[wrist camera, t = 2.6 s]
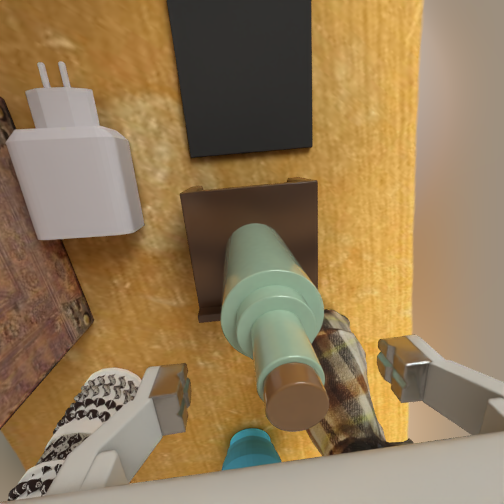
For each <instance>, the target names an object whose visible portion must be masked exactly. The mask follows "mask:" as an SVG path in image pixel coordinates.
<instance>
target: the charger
mask: <svg viewBox="0 0 504 504" xmlns="http://www.w3.org/2000/svg"><path fill="white" fill-rule="evenodd" d="M37 65H38V68H39V72H40V76H41V79H42V83H43V87H44V88H35V89H31V90H27V91H26V92H25V93H26V97H27V100H28V104H29V107H30V110H31V114H32V117H33V121H34V124H35V127H36V129H17V130H14V131H13V133H12V134H11V135H10V137H9V138H8V140H7V141H6V145H7V148H8V151H9V154H10V157H11V160H12V163H13V166H14V169H15V172H16V175H17V178H18V181H19V184H20V187H21V190H22V193H23V196H24V199H25V202H26V205H27V208H28V211H29V214H30V217H31V220H32V223H33V226H34V229H35V232H36V235H37V238H38V240H55V239H69V238H84V237H98V236H112V235H123V234H129V233H134V232H136V231H137V230H139V229H140V228H141V227H143V226H144V220H143V214H142V209H141V204H140V199H139V194H138V188H137V183H136V178H135V173H134V167H133V162H132V157H131V152H130V147H129V141H128V140H127V139H126V138H125V137H123V136H122V135H121V134H120V133H119V132H117V131H116V130H113V129H109V128H106V127H103V126H100V124H99V119H98V115H97V110H96V106H95V101H94V96H93V92H92V90H91V89H84V88H71V86H70V82H69V78H68V73H67V69H66V65H65V63H64V62H61V61H60V62H59V63H58V65H59V69H60V73H61V77H62V81H63V85H64V87H54V88H51V87H50V83H49V79H48V76H47V72H46V68H45V64H44V63H42V62H38V63H37Z"/></svg>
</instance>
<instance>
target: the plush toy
mask: <svg viewBox="0 0 504 504" xmlns="http://www.w3.org/2000/svg"><path fill="white" fill-rule="evenodd" d="M312 347H313V349H314V351H315V353H316V355H317V358H318V360H319V362H320V364H321V367H322V369H323V371H324V375H325V384H324V387H325V390H326V392H327V394H328V397H329V408H328V411H327V414H326V415H325V417H324V418H323V419H322V420H321V421H320V422H319V423H318V424H316V425H315V426H313V427H311V428H309V429H306V431H307V433H308V435H309V437H310V439H311V440H312V442H313V444H314V445H315V446H316V448H317V449H318V451H319V452H320V453H321V455H322V456H329V455H336V454H343V453H350V452H357V451H364V450H371V449H379V448H386V447H393V446H400V445H407V444H414V443H413V441H412V440H410V439H408V440H406V441H404V442H392V443H389V442H386V439H385V436H384V432H383V428H382V427H381V425H380V424H379V422H378V421H377V418H376V415H375V411H374V408H373V404H372V401H371V397H370V391H369V385H368V379H367V363H366V359H365V358H366V354H365V352H364V350H363V348H362V346H361V345H360V343H359V341H358V340H357V338H356V337H355V335H354V334H353V333H351V330H350V322H349V320H348V318H346V317H345V316H343V315H340V314H339V313H338V312H336V311H334V310H324V319H323V323H322V326H321V329H320V331H319V333H318V334H317V336H316V337H315V339H314V341H313V342H312Z"/></svg>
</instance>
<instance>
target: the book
mask: <svg viewBox="0 0 504 504" xmlns="http://www.w3.org/2000/svg"><path fill="white" fill-rule="evenodd" d="M14 130H16V128H15V126H14V123H13V121H12V118H11V116H10V113H9V111H8V108H7V106H6V104H5V101H4V99H3V98H1V97H0V429H1V428H2V427H3V426H4V425H5V424H6V422H7V421H8V420H9V419H10V418H11V417H12V416H13V414H14V413H15V412H16V411H17V410H18V409H19V407H20V406H21V405H22V404H23V403H24V402H25V400H26V399H27V398H28V397H29V396H30V395H31V394H32V392H33V391H34V390H35V389H36V388H37V387H38V385H39V384H40V383H41V382H42V381H43V380H44V379H45V377H46V376H47V375H48V374H49V373H50V372H51V370H52V369H53V368H54V367H55V366H56V365H57V363H58V362H59V361H60V360H61V359H62V358H63V357H64V355H65V354H66V353H67V352H68V351H69V350H70V348H71V347H72V346H73V345H74V344H75V343H76V342H77V340H78V339H79V338H80V337H81V336H82V335H83V333H84V332H85V331H86V330H87V329H88V328H89V327H90V325H91V324H92V323H93V321H94V319H93V316H92V314H91V311H90V309H89V306H88V304H87V301H86V299H85V297H84V294H83V292H82V289H81V287H80V284H79V282H78V280H77V277H76V275H75V272H74V270H73V267H72V265H71V262H70V260H69V258H68V255H67V253H66V250H65V248H64V245H63V243H62V240H61V239H55V240H38V238H37V235H36V232H35V229H34V226H33V223H32V220H31V217H30V214H29V211H28V208H27V205H26V202H25V199H24V196H23V193H22V190H21V187H20V184H19V181H18V178H17V175H16V172H15V169H14V166H13V163H12V160H11V157H10V154H9V151H8V148H7V145H6V141H7V140H8V138H9V137H10V135H11V134H12V133H13V131H14Z"/></svg>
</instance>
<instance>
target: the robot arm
mask: <svg viewBox="0 0 504 504" xmlns="http://www.w3.org/2000/svg"><path fill="white" fill-rule="evenodd" d="M378 348H379V349H380V351H381V352H380V353H379V354H378V356H377V365H378V369H379V372H380V374H381V375H382V377H383V378H384V380H386V381H387V382H389V383H391V389H392V391H393V392H394V394H395V395H396V396H397V398H398V399H399V400H400V402H401V403H405V402H415V401H423V402H424V403H425V404H427V405H429V406H430V407H431V408H433V409H434V410H436V411H437V412H439V413H440V414H442V415H443V416H445V417H446V418H448V419H449V420H451V421H452V422H454V423H455V424H457V425H458V426H459V427H461V428H462V429H464V430H465V431H467V432H468V433H470V434H471V435H470V436H463V437H456V438H449V439H443V440H435V441H428V442H421V443H414V444H407V445H400V446H393V447H386V448H379V449H371V450H364V451H357V452H350V453H343V454H336V455H329V456H322V457H315V458H308V459H301V460H294V461H287V462H280V463H273V464H266V465H259V466H252V467H245V468H238V469H230V470H223V471H216V472H209V473H202V474H195V475H188V476H181V477H174V478H167V479H160V480H153V481H146V482H139V483H132V484H129V482H130V481H131V480H132V478H133V477H134V475H135V474H136V473H137V471H138V470H139V469H140V467H141V466H142V465H143V463H144V462H145V460H146V459H147V458H148V456H149V455H150V454H151V452H152V451H153V449H154V448H155V447H156V445H157V444H158V443H159V441H160V440H161V438H162V436H163V435H170V434H176V433H182V432H185V431H186V425H187V420H188V412H187V408H188V407H189V406H190V403H191V382H190V379H189V378H187V374H188V368H187V364H186V363H181V364H171V365H161V366H153V367H148V368H147V369H146V371H145V374H144V376H143V378H142V381H141V383H140V385H139V388H138V390H137V393H136V395H135V397H134V400H132V401H129V402H128V403H126V404H125V405H124V406H123V407H122V408H121V409H120V410H118V411H117V412H116V413H115V414H114V415H113V416H112V417H110V418H109V419H108V420H107V421H106V422H105V423H104V424H102V425H101V426H100V427H99V428H98V429H97V430H96V431H94V432H93V433H92V434H91V435H90V436H89V437H88V438H87V439H85V440H84V441H83V442H82V443H81V444H80V445H79V446H77V447H76V448H75V449H74V450H73V451H72V452H71V453H69V454H68V456H67V457H66V459H65V461H64V463H63V464H62V466H61V468H60V470H59V471H58V473H57V475H56V477H55V478H54V480H53V482H52V484H51V485H50V487H49V489H48V491H47V492H46V494H45V496H40V497H33V498H26V499H19V500H12V501H6V502H0V504H504V382H502V381H500V380H497V379H495V378H492V377H490V376H487V375H485V374H482V373H480V372H477V371H475V370H473V369H470V368H468V367H465V366H463V365H461V364H458V363H456V362H453V361H451V360H445V359H444V358H443V357H442V356H441V355H439V354H438V353H437V352H436V351H435V350H434V349H433V348H432V347H430V346H429V345H428V344H427V343H426V342H425V341H424V340H423V339H422V338H420V337H419V336H418V335H415V334H413V335H407V336H402V337H394V338H386V339H380V340H379V342H378Z"/></svg>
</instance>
